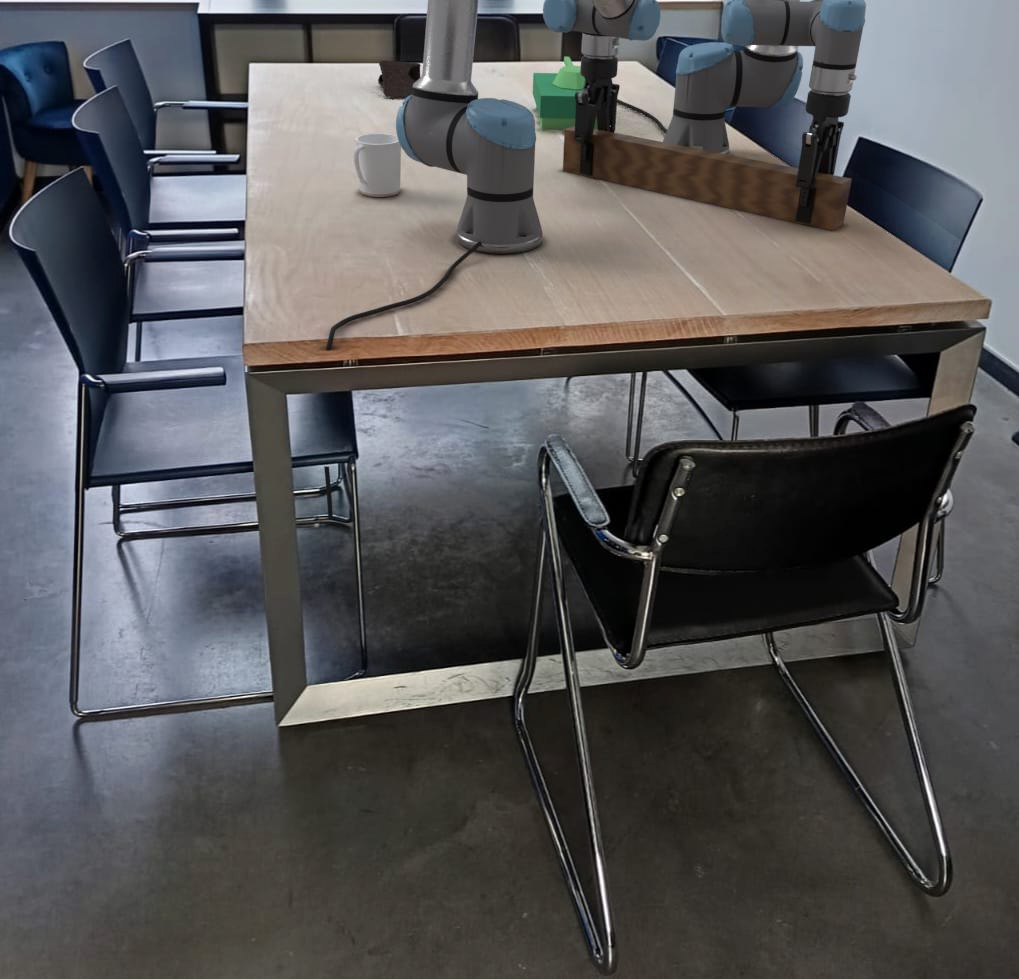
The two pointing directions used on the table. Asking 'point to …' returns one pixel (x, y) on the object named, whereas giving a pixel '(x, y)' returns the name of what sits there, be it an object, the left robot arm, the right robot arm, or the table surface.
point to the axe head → (398, 78)
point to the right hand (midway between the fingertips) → (808, 218)
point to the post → (708, 177)
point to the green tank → (558, 96)
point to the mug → (378, 164)
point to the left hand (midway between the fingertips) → (592, 171)
